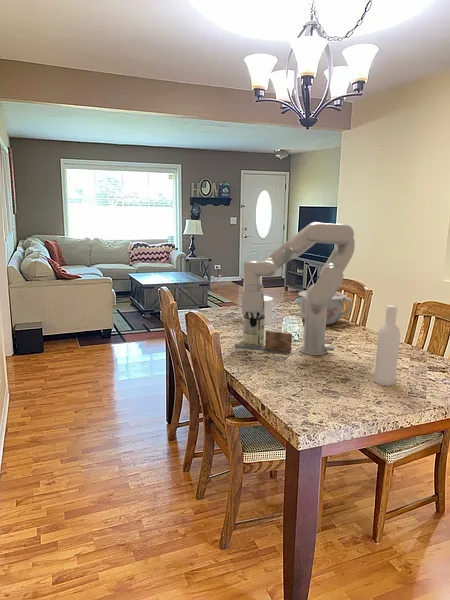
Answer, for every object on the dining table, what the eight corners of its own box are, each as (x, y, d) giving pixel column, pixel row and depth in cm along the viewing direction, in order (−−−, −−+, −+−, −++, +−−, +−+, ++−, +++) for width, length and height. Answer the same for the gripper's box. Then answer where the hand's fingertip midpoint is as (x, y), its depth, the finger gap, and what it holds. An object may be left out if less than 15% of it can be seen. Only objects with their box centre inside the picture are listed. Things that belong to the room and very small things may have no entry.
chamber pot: (287, 319, 269) (289, 284, 265) (324, 315, 280) (326, 282, 276) (315, 330, 244) (317, 293, 240) (355, 326, 255) (357, 290, 251)
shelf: (291, 349, 206) (292, 333, 205) (290, 351, 204) (291, 334, 202) (266, 346, 210) (266, 330, 209) (264, 348, 208) (265, 331, 206)
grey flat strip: (290, 351, 207) (290, 349, 207) (288, 353, 204) (289, 352, 204) (237, 345, 215) (237, 343, 215) (235, 347, 212) (235, 345, 212)
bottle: (378, 376, 178) (385, 302, 172) (398, 381, 173) (406, 305, 167) (370, 382, 172) (377, 306, 166) (391, 387, 167) (399, 309, 161)
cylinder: (239, 323, 256) (240, 274, 251) (246, 316, 272) (247, 270, 267) (268, 326, 251) (270, 276, 246) (274, 319, 268) (276, 272, 262)
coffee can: (243, 339, 224) (244, 312, 222) (264, 340, 224) (265, 313, 221) (242, 345, 214) (242, 317, 212) (263, 346, 213) (264, 317, 211)
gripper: (270, 286, 207) (271, 324, 210) (239, 285, 211) (240, 323, 215) (266, 289, 200) (267, 329, 203) (234, 288, 205) (235, 327, 208)
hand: (253, 326), depth 209 cm, fingers closed
